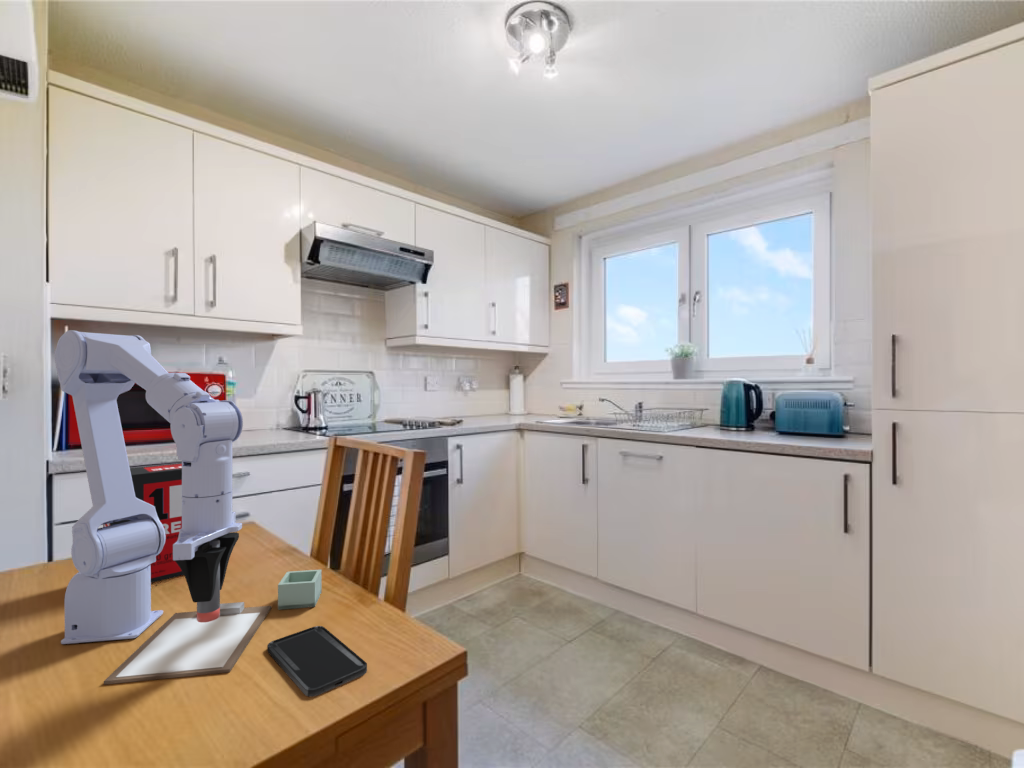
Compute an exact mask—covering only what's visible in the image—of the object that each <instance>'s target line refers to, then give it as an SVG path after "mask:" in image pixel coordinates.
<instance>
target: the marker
mask: <svg viewBox="0 0 1024 768" xmlns="http://www.w3.org/2000/svg"><path fill="white" fill-rule="evenodd" d="M210 545H212V548H213V547H220V540H218V539H213V540H211V541H210ZM220 604H221V590H220V563H219V566H218V570H217V575H216V583H215V590H214V595H213V598H212V600H211V601H207V602H196V611H197V621H198V622H210V621H213V620H215V619H217V618H219V617H220Z"/></svg>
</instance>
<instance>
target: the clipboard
mask: <svg viewBox="0 0 1024 768" xmlns="http://www.w3.org/2000/svg"><path fill="white" fill-rule="evenodd" d="M271 609H272V605H265V606H264V605H262V606H251V607H247V606H246V607H245V602H244V601H242V602H241V601H240V602H228V603H227V602H226V603H220V617H219V618H217V619H215V620H213V621H210V622H198V621H197V610H196V611H185V612H182V611H181V612H174V614H173V615H172V616H171V617H169V618H168V620H166V621H165V622H164V623H163V624H162V625H161V626H160V627H159V628H158V629H157V630H156V631H155V632H154V633H153V634H151V636H150V637H148V638H147V640H146V641H144V642H143V643H142V644H141V645H140V646H139V647H137V649H136V650H135V651H134V652H132V654H131V655H130V656H129V657H127V658H126V660H124V662H122V663H121V664H120V665H119V666H118V667H117V668H115V670H114V671H113V672H112V673H111V674H109V675H108V676H107V677H106V679H104V681H103V685H113V684H122V683H123V684H124V683H135V682H141V681H142V682H144V681H154V680H164V679H176V678H183V677H193V676H195V677H196V676H203V675H204V676H205V675H206V676H207V675H214V674H226V673H230V672H231V671H232V670H233V668H234V666H235V665H236V663H237V661H238V660H239V659H240V657H241V656H242V654H243V652H244V651H245V649H246V648H247V647H248V645H249V643H250V642H251V640H252V639H253V637H254V635H255V634H256V632H257V631H258V630H259V629H260V627H261V625H262V623H263V621H264V620H266V617H267V616H268V614H269V613H270V612H271Z"/></svg>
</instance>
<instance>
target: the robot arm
mask: <svg viewBox="0 0 1024 768" xmlns="http://www.w3.org/2000/svg"><path fill="white" fill-rule="evenodd" d="M53 357H54V363H55V368H56V374H57V378H58V379H57V380H58V382H59V385H60V390H61V391H62V392H64V393H66V394H68V395H70V396H71V397H72V402H73V403H72V404H73V407H74V412H75V414H74V415H75V418H76V423H77V429H78V434H79V439H80V444H81V451H82V456H83V459H84V460H83V461H84V466H85V473H86V478H87V482H88V488H89V494H90V498H91V504H92V506H91V508H90V509H89V510H88V511H86V512H85V513H84V514H83V515H82V516H81V517H80V518H79V519H78V520H77V521H76V522H75V523H74V524H73V526H71V527H72V528H71V529H72V530H71V533H72V534H71V535H72V545H71V548H70V549H71V552H70V553H71V560H72V563H73V566H74V567H75V569H76V570H77V571H78V572H77V573H75V574H74V575H73V576H72V578H71V579H70V580H69V582H68V585H67V586H66V591H65V593H64V638H62V639H61V640H60V644H61V645H66V644H67V645H69V644H79V643H92V642H93V643H94V642H105V641H116V640H118V641H119V640H128V639H129V640H130V639H135V638H138V637H139V636H140V635H141V634H143V632H145V631H146V630H147V629H148V628H149V627H150V626H151V625H152V624H153V623H154V622H156V621H157V620H158V619H159V618H160V617H161V616H162V615H164V610H163V609H159V610H152V593H151V592H152V590H151V589H152V588H151V587H152V585H151V584H152V583H151V563H154V562H156V555H158V554H160V552H161V551H162V549H163V547H164V544H165V539H166V535H165V530H164V527H163V525H162V523H161V522H160V520H159V518H158V516H157V513H156V509H155V507H154V506H153V505H151V504H149V503H146V502H144V501H142V500H140V499H138V498H136V497H135V492H134V487H133V482H132V477H131V472H130V468H131V467H130V463H129V457H128V453H127V447H126V443H125V438H124V437H125V436H124V433H123V427H122V421H121V416H120V412H119V411H120V410H119V408H118V407H119V406H118V401H117V400H118V397H119V395H121V394H124V393H126V392H128V391H130V390H131V389H132V387H134V385H135V384H136V385H137V386H139V387H141V388H142V389H144V390H145V401H146V402H147V404H148V405H149V406H150V407H151V408H152V409H154V411H155V412H157V413H158V414H159V415H160V416H161V417H162V418H164V420H165V421H167V422H168V423H169V424H170V433H171V438H172V439H173V441H174V443H175V447H176V456H177V458H178V461H181V463H182V528H181V529H180V532H179V536H178V540H177V542H176V543H174V544H173V560H174V561H175V562H176V563H177V564H178V566H179V567H180V568H181V570H182V572H183V574H184V575H183V576H184V579H185V581H186V584H187V587H188V590H189V595H190V597H191V600H192V602H193V603H197V602H207V601H211V600H212V598H213V595H214V590H215V583H216V575H217V570H218V566H219V563H220V591H221V590H222V589H223V586H224V582H225V577H226V573H227V569H228V565H229V562H230V557H231V555H232V553H233V551H234V548H235V546H236V544H237V542H238V540H239V538H240V533H239V532H238V531H240V530H242V528H243V523H242V522H236V521H237V519H236V513H237V512H236V511H233V447H234V446H233V443H234V442H236V441H237V440H238V439H239V438H240V437H241V434H242V432H243V428H244V427H243V426H244V419H243V416H242V412H241V410H240V409H239V407H238V405H236V404H235V402H234V401H233V400H227V399H226V400H225V399H224V400H219V399H214V398H213V397H212V396H211V395H210V393H208V392H207V391H205V390H203V389H202V388H201V387H200V386H198V385H197V384H195V382H194V381H192V380H191V376H190V375H188V373H186V372H169V371H167V370H166V369H165V368H164V366H163V365H162V364H161V363H159V361H158V360H157V359H156V358H155V357H154V356H153V355H152V348H151V344H150V342H148V341H146V339H144V337H142V336H141V335H139V334H131V335H127V334H126V335H124V334H112V333H100V332H87V331H86V332H85V331H78V330H74V329H73V330H72V329H69V330H67V331H65V332H64V333H63V334H62V335H61V336H60V337H59V339H58V341H57V344H56V348H55V350H54V356H53ZM121 520H132V521H128V522H124V523H120V524H115V525H111V526H107V527H103V525H104V524H108V523H113V522H117V521H121ZM100 526H102V527H100ZM99 527H100V528H99ZM213 539H218V540H220V547H213V548H212V545H210V541H211V540H213Z"/></svg>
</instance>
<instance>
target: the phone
mask: <svg viewBox="0 0 1024 768" xmlns="http://www.w3.org/2000/svg"><path fill="white" fill-rule="evenodd" d="M266 649H267V653H268V654H269V656H270V657H271V658H272V660H274V662H276V664H277V665H278V666H279V667H280V668H281V669H282V670H283V672H285V674H286V675H287V676H288V677H289V678H290V679H291V681H292V682H293V683H294V684H295V685H296V686H297V688H298V689H299V690H300V691H301V692H302V693H303V695H304V696H306V697H308V698H309V697H310V698H312V697H317V696H320V695H321V694H324V693H327V692H328V691H332V690H333V689H336V688H337V687H340V686H342V685H345V684H347V683H349V682H351V681H353V680H356V679H358V678H360V677H362V676H364V675H365V674H367V672H368V663H367V662H366V661H365V660H364V659H363V658H361V656H359V655H358V654H357V653H355V652H354V650H352V649H351V648H350V647H348V646H347V645H346V644H344V642H342V640H340V639H339V638H338V637H336V636H335V634H333V633H332V632H331V631H330V630H328V629H327V628H326V627H325V626H322V625H317V626H312V627H309V628H306V629H304V630H300V631H298V632H294V633H291V634H289V635H286V636H284V637H283V636H282V637H280V638H276V639H275V640H272V641H270V642H269V643H267V647H266Z"/></svg>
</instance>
